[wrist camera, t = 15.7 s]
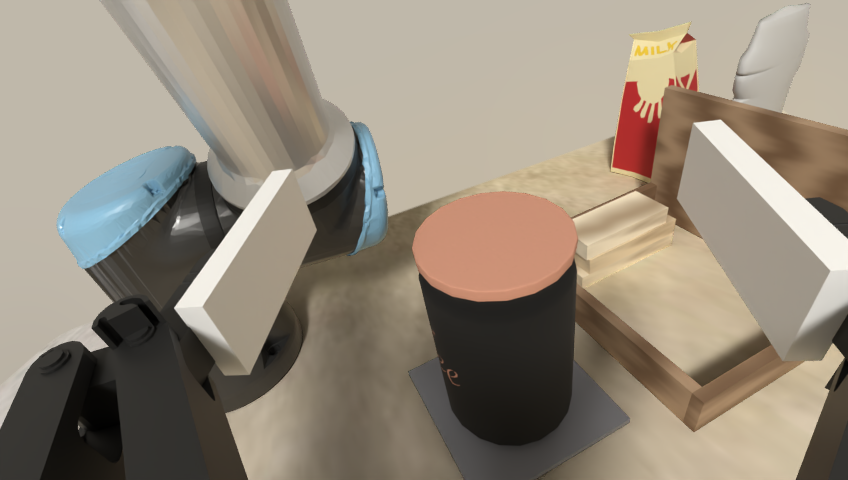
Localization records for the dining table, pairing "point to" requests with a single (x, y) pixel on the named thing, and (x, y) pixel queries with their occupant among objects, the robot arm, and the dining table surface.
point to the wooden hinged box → (781, 149)
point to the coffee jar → (502, 311)
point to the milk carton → (651, 95)
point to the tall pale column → (772, 58)
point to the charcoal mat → (520, 465)
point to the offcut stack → (620, 236)
